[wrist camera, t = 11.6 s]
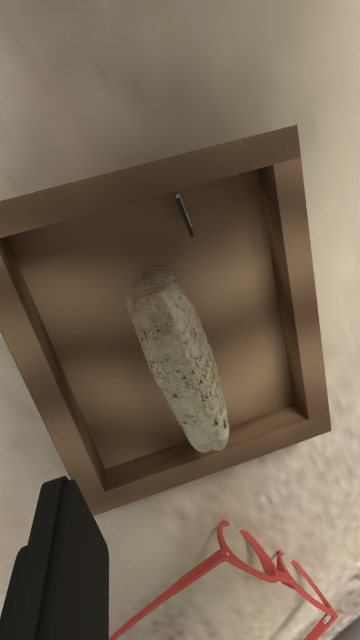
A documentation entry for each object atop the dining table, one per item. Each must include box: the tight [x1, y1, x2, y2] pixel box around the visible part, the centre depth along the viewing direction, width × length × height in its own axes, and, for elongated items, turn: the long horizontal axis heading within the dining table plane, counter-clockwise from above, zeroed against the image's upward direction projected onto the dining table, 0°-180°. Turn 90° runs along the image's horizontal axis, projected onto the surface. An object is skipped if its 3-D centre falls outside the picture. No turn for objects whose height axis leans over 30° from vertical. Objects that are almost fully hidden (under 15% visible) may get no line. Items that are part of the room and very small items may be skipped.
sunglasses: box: [109, 521, 338, 640], centre depth 29 cm, size 17×16×5 cm
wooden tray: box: [0, 125, 331, 516], centre depth 21 cm, size 19×17×3 cm
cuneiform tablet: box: [126, 193, 230, 453], centre depth 18 cm, size 7×4×12 cm
